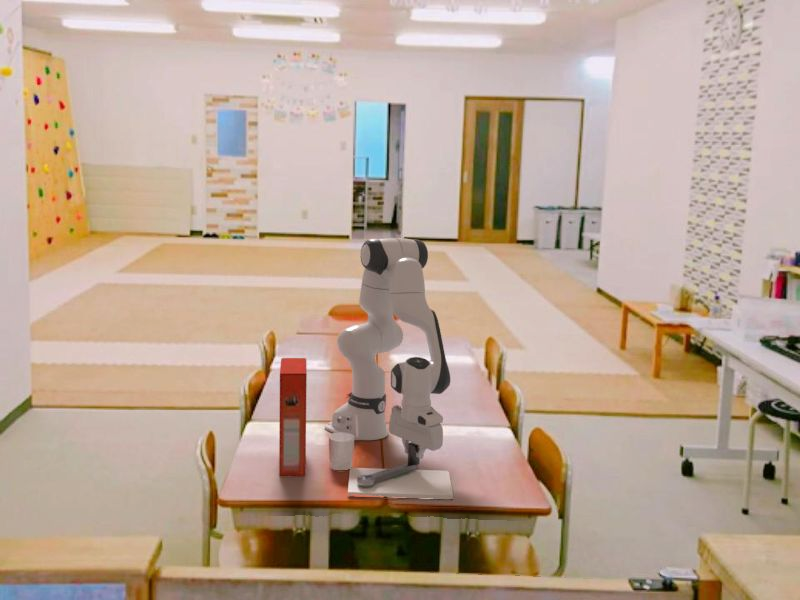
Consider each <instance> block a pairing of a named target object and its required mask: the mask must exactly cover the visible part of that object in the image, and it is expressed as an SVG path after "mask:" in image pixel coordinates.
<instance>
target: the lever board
mask: <svg viewBox="0 0 800 600" xmlns="http://www.w3.org/2000/svg"><path fill="white" fill-rule="evenodd" d="M386 469H387V468H372V467H371V468H369V467H367V468H365V467H352V468H350V470H349V476H348V486H347V495H348V494H349V495H353V494H359V495H372V496H375V495H376V496H379V495H381V496H386V497H393V496H394V497H406V498H433V499H453V500H454V492H453V489H452V482H451V477H450V473H449V470H440V469H439V470H435V469H434V470H432V469H417V470H414V471H411V472H408V473H405V474H402V475H398V476H395V477H392V478H389V479H386V480H383V481H380V482H377V483H374V486H372V487H360V486H358V485H357V477H358V476H360V475H370V474H374V473H377V472H380V471H383V470H386Z"/></svg>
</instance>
